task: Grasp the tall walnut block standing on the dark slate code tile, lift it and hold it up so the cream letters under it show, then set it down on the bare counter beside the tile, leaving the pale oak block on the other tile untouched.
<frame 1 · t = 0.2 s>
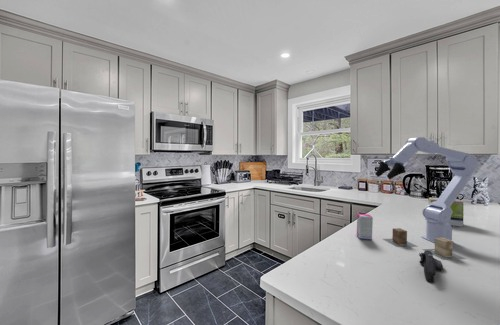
hand: (382, 176, 106), 31 cm above the counter, tool tilted 45°, fingers open, 7 cm apart
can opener: (429, 273, 79), on the counter
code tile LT: (399, 242, 105), on the counter
supplement box: (364, 238, 111), on the counter
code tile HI: (443, 254, 93), on the counter
walnut block: (399, 242, 105), resting on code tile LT
tea box: (444, 223, 137), on the counter
oak block: (443, 253, 93), resting on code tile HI
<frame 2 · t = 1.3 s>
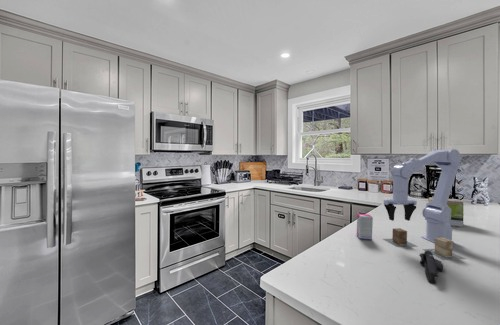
hand: (399, 220, 105), 11 cm above the counter, tool pointing down, fingers open, 7 cm apart
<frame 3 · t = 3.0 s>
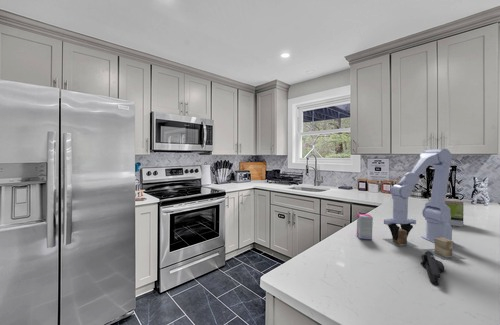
hand: (399, 239, 105), 2 cm above the counter, tool pointing down, fingers closed on walnut block, 4 cm apart
walnut block: (399, 242, 105), resting on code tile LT, touching gripper
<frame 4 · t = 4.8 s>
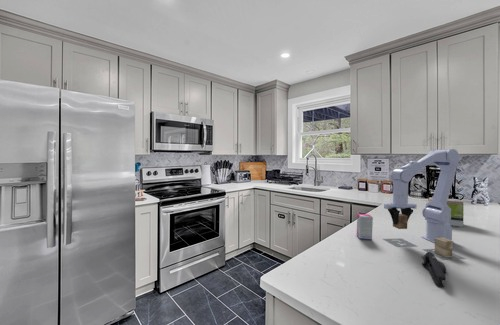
hand: (399, 223, 105), 9 cm above the counter, tool pointing down, fingers closed on walnut block, 4 cm apart
walnut block: (399, 227, 105), point 7 cm above the counter, touching gripper
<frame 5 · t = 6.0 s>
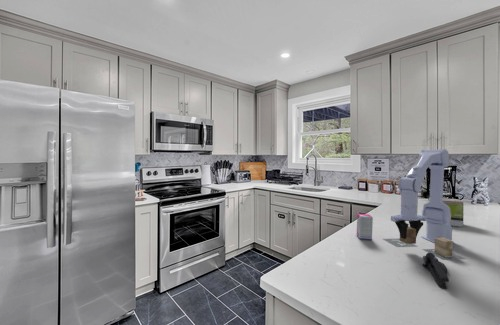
hand: (408, 238, 95), 6 cm above the counter, tool pointing down, fingers closed on walnut block, 4 cm apart
walnut block: (407, 241, 95), point 4 cm above the counter, touching gripper
when the fingers open (3 cm above the counter, at t = 6.9 s): walnut block drops 1 cm, on the counter.
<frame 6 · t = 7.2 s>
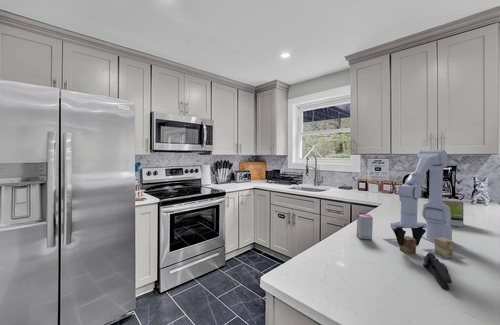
hand: (408, 245, 95), 3 cm above the counter, tool pointing down, fingers open, 6 cm apart
walnut block: (407, 251, 95), on the counter
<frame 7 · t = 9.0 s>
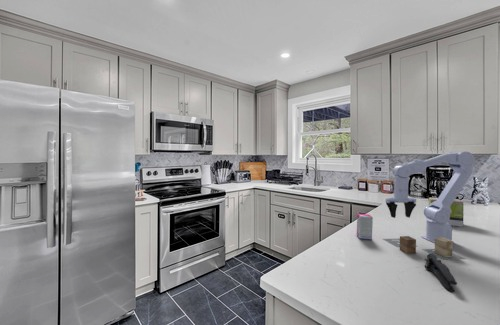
hand: (400, 217, 112), 10 cm above the counter, tool pointing down, fingers open, 7 cm apart
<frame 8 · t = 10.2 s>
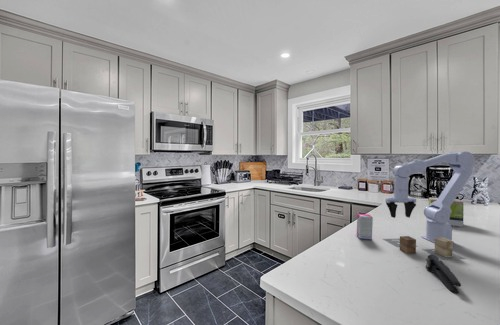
hand: (400, 217, 112), 10 cm above the counter, tool pointing down, fingers open, 7 cm apart
at the end: walnut block inside the target area (0.2 cm from its centre), on the counter; walnut block tilted 0°; oak block moved 0.0 cm from its start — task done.
